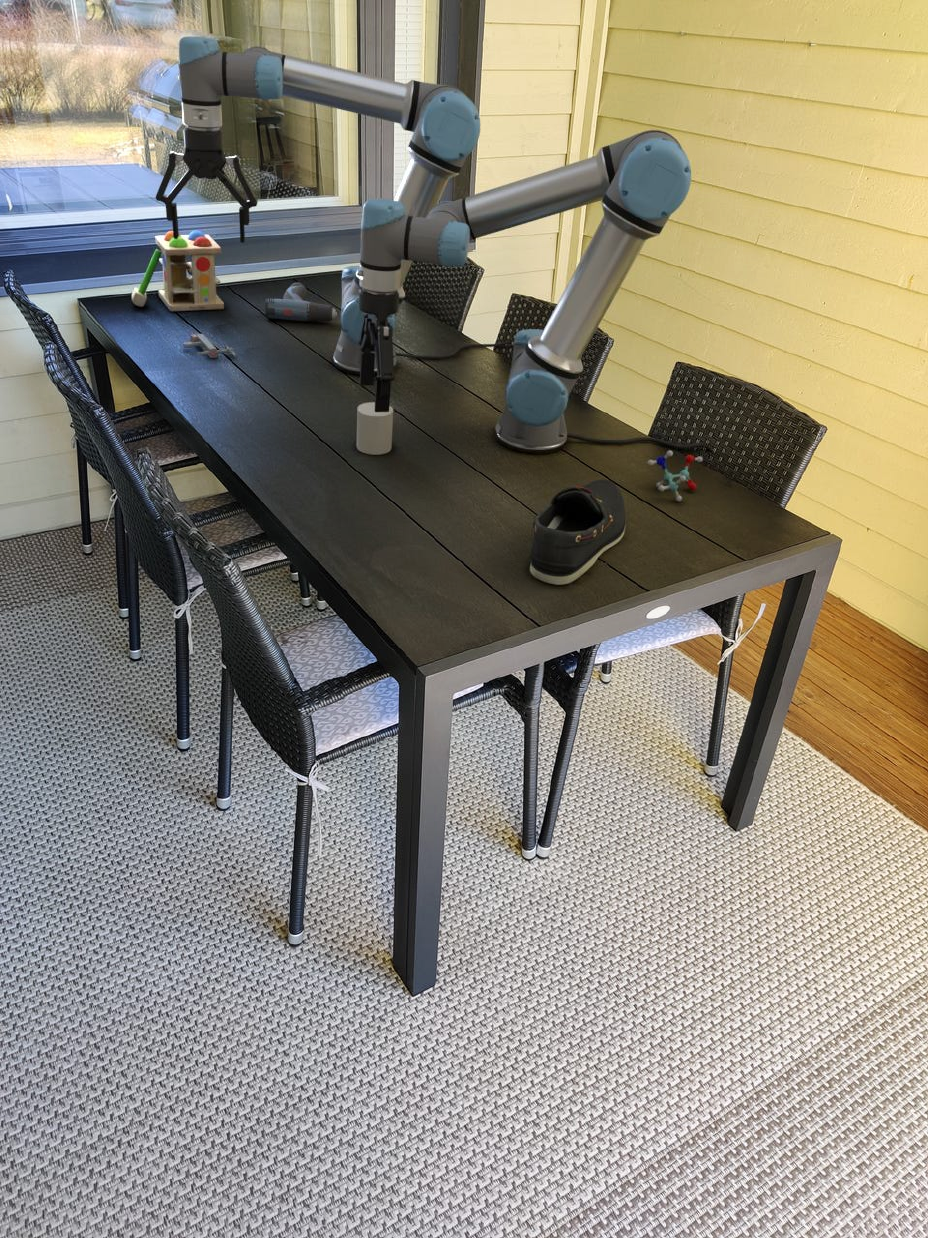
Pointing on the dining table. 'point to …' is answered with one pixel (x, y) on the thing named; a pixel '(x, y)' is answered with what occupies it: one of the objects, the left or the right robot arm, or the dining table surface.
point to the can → (374, 429)
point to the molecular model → (669, 477)
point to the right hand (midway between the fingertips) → (373, 397)
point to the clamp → (206, 346)
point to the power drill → (298, 307)
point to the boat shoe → (576, 531)
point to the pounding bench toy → (184, 273)
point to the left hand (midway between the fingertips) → (209, 239)
